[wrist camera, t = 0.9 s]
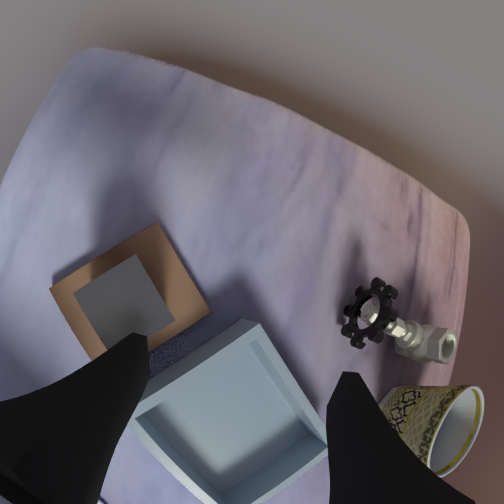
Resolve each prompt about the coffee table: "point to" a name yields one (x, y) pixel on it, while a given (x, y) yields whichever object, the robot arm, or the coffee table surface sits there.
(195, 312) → the stud block
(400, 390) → the ceramic cup
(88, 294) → the grey rectangular block
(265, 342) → the bin
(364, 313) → the valve
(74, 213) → the coffee table surface
